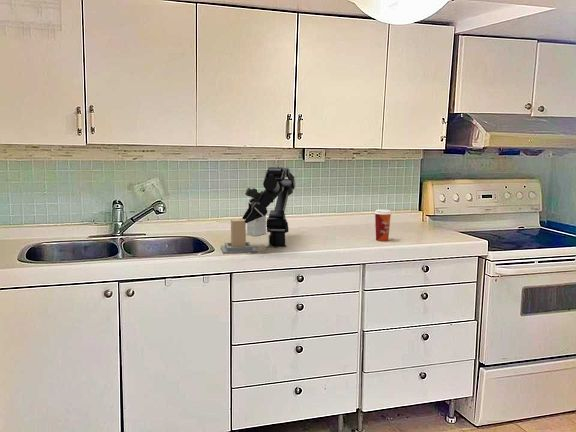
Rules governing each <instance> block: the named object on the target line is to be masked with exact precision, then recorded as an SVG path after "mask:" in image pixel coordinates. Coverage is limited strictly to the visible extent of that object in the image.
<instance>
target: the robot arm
mask: <svg viewBox="0 0 576 432" xmlns="http://www.w3.org/2000/svg"><path fill="white" fill-rule="evenodd" d="M265 171H266V172H265V176H264V178H263V179H264V180H263V182H262V185H263V188H264V190H261V191H260V192H259V191H258V189H256V188H255V187H253V188H251V187H247V188H246V191H245V193H244V195H245V196H247V197H250V199H249V200H248V202H247V203H248V208H247V209H246V211H245V212H244V214H243V216H242V218H241V219H244V220H245V221H244V222H245V223H246V224H247V223H248V222H251V221H253V220H255V219H258V218H260V217H263V216H265V215H266V216H267V215H268V217H266V233H269V235H268V245H269V246H270V247H271V248H280V247H281V248H282V247H287V245H286V234H287V233H289V222H288V220H287V219H286V213H285V212H286V207H287V203H288V199H289V196H290V195H292V194H293V192H294V190H295V189H296V180H295V179H296V178H295V176H294V175H293V174H292V173H291V170H290V168H287V167H286V168H285V167H279V166H274V167H273V166H268V168H267V169H266V170H265ZM276 198H277V199H276ZM275 200H276V203H275V206H274V209H270V210H269V214H268V208H267V207H269V206H270V205H271V204H273V203H274V201H275ZM262 215H263V216H262Z"/></svg>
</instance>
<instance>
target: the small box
mask: <svg viewBox="0 0 576 432" xmlns="http://www.w3.org/2000/svg"><path fill="white" fill-rule="evenodd" d="M262 216H263V215H262ZM266 223H267V214H266V215H265V216H263V217H260V218H258V219H255V220H253V221H251V222H248V223H246V236H251V237H258V236H262V235H266V234H267V224H266Z"/></svg>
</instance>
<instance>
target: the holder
mask: <svg viewBox="0 0 576 432" xmlns="http://www.w3.org/2000/svg"><path fill="white" fill-rule="evenodd" d="M220 251H221V252H222V254H223V255H227V254H251V253H252V254H257V253H258V250H257V249H256V247H255V246H254V244H251V243H250V241H246V247H231V242H224V245H220Z"/></svg>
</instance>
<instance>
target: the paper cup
mask: <svg viewBox="0 0 576 432" xmlns="http://www.w3.org/2000/svg"><path fill="white" fill-rule="evenodd" d="M391 215H392V210H390V209H382V208H381V209H375V212H374V217H375V219H374V220H375V221H374V222H375V241H377V242H388V241H389V235H390V225H391V224H390V223H391Z"/></svg>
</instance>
